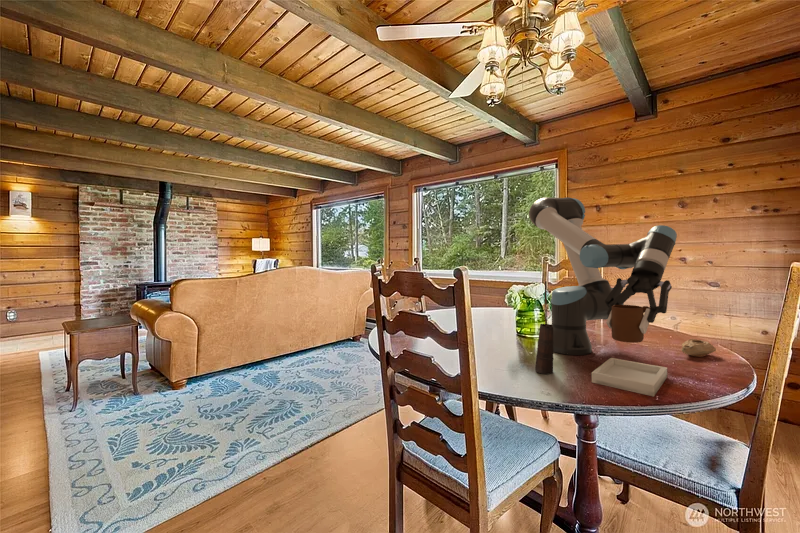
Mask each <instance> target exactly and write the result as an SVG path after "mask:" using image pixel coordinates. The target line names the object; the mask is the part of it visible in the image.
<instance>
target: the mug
mask: <svg viewBox="0 0 800 533" xmlns="http://www.w3.org/2000/svg"><path fill="white" fill-rule="evenodd" d="M646 308H648V309H651V308H650V306H647V305H644V306H640V305H634V304H624V305H613V306H612V311H611V326H612V329H611V338H612V339H613V340H614V341H618V342H621V343H627V344H628V343H631V344H632V343H633V344H636V343H642V342H643V341H644V337H645V336H644V335H645V334H644V333H642V332H641V330H640V328H639V326H640V324H641V321H642V319H643V316H644V313H645V311H646Z"/></svg>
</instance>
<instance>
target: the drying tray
mask: <svg viewBox="0 0 800 533" xmlns="http://www.w3.org/2000/svg"><path fill="white" fill-rule="evenodd" d="M667 378H668V367H665V366H661V365H660V366H659V365H654V364H648V363H644V362H637V361H633V360H632V361H631V360H626V359H620V358H615V357H610V358H609V359H606V361H605V362H603V363H602V364H601V365H599V366H597V368H595V369H594V370H593V371H592V372H591V383H593V384H597V385H602V386H606V387H610V388H615V389H619V390H623V391H628V392H632V393H637V394H641V395H646V396H648V397H649V396H650V397H655V396H656V394H657V393H658V391H659V390H660V388H661V387H662V385H663V384H664V382H666V379H667Z"/></svg>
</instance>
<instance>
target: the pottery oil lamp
mask: <svg viewBox="0 0 800 533" xmlns="http://www.w3.org/2000/svg"><path fill="white" fill-rule="evenodd" d="M680 350H681V352H682V353H683V354H686V355H688V356H689V355H690V356H692V357H697V358H698V357H699V358H700V357H701V358H702V357H705V356H707V355H710V354H712V353H714V352H716V351H717V348H716V347H715V345H713V344H711V343H710V342H709V341H707V340H702V339H696V338H690V339H687V340H685V341H684V342H683V343H682V344H681V349H680Z"/></svg>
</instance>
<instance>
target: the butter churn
mask: <svg viewBox="0 0 800 533" xmlns="http://www.w3.org/2000/svg"><path fill="white" fill-rule="evenodd" d="M547 283H548V282H547V281H546V280H545V281H544V319H545V320H544V321H545V322H544V323H541V324H540V325H539V333H538V340H537V348H536V349H537V350H536V357H535V364H534V365H535V368H534V370H535V372H536V373H539V374H544V375H547V374H553V373H554V352H553V344H554V342H553V325H552V323H551V324H549V323H548V308H547V307H548V306H547V305H548V303H547V302H548V301H547V299H548V294H547V292H548V291H547V290H548V288H547V286H548V285H547Z"/></svg>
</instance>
